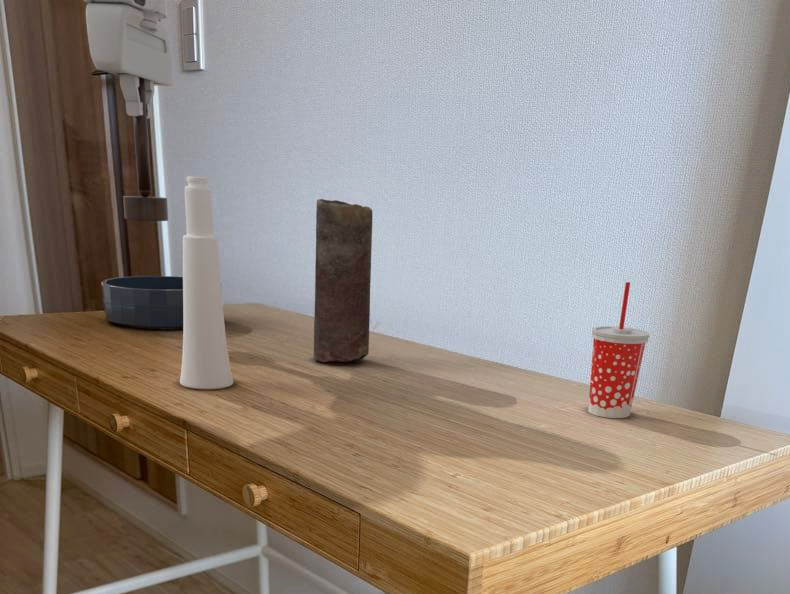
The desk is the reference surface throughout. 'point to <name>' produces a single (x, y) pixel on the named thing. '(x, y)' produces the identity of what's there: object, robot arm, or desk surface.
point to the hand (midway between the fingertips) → (139, 117)
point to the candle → (342, 281)
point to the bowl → (144, 301)
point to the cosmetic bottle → (202, 296)
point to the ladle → (143, 174)
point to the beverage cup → (615, 366)
